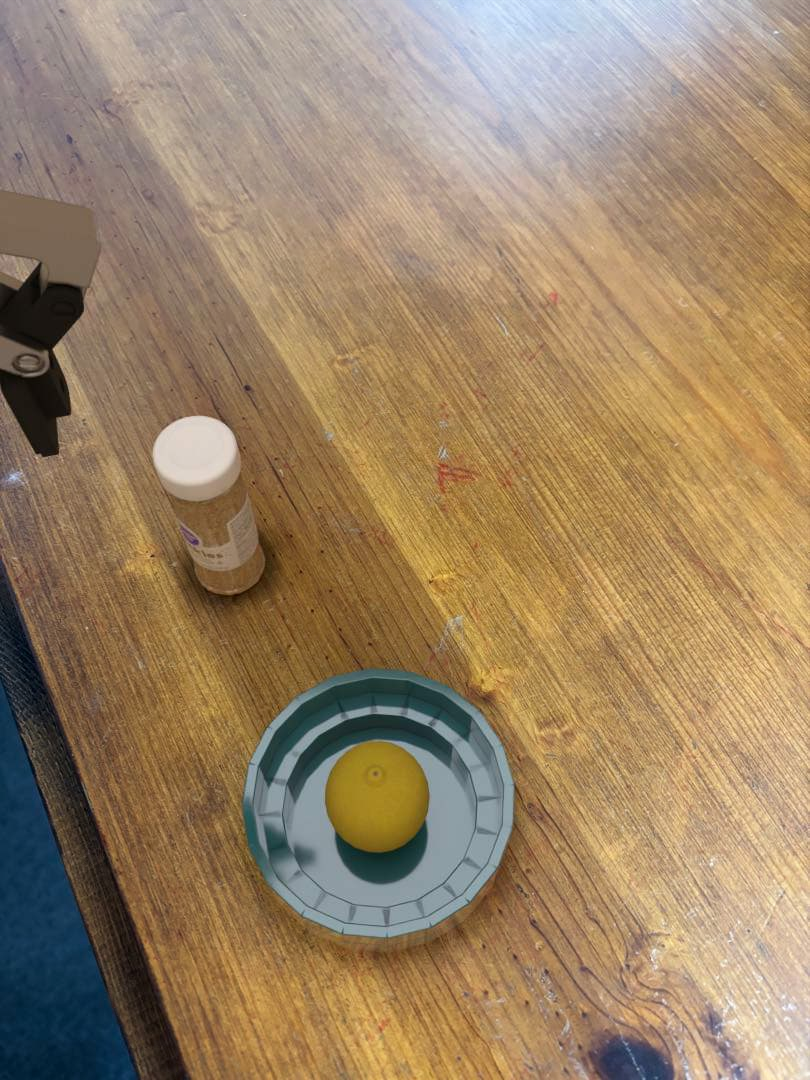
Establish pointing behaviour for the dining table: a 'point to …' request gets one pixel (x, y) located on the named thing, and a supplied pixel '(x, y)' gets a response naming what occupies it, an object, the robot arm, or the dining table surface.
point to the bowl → (394, 876)
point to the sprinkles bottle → (210, 502)
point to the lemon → (377, 796)
